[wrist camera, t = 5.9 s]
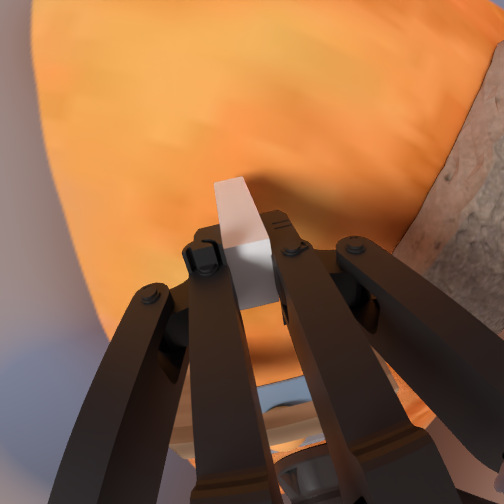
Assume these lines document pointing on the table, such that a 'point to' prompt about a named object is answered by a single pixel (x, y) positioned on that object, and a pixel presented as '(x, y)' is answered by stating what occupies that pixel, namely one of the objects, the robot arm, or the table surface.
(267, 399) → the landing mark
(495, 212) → the stone tablet
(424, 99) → the table surface
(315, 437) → the wall
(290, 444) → the ball
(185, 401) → the bridge
